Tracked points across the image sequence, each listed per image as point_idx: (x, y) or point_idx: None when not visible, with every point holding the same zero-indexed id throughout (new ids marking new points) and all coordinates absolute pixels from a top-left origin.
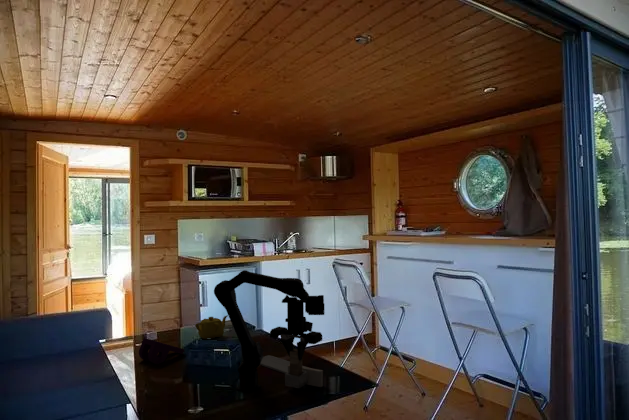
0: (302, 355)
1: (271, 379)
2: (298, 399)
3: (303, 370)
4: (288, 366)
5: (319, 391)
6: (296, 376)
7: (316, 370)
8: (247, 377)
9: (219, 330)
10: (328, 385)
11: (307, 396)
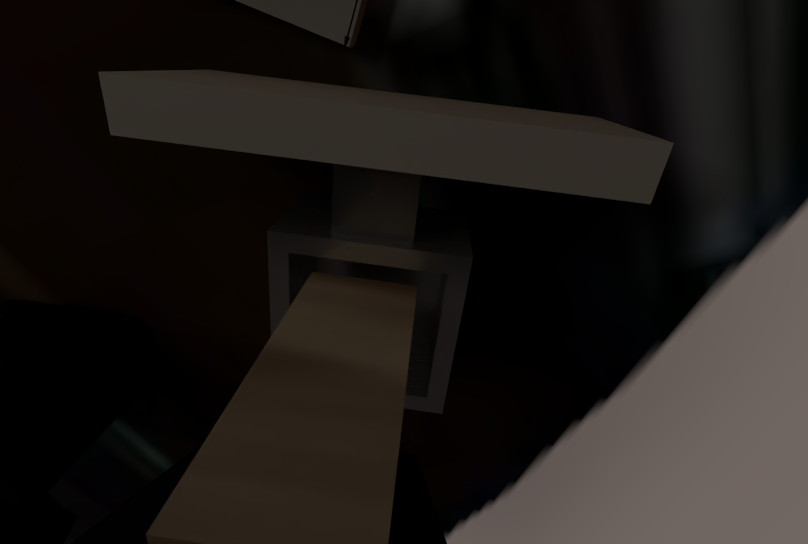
0: (436, 535)
1: (73, 145)
2: (482, 409)
3: (384, 189)
4: (131, 135)
5: (593, 250)
6: (412, 407)
7: (577, 181)
8: (51, 481)
9: None
10: (654, 81)
11: (525, 356)
